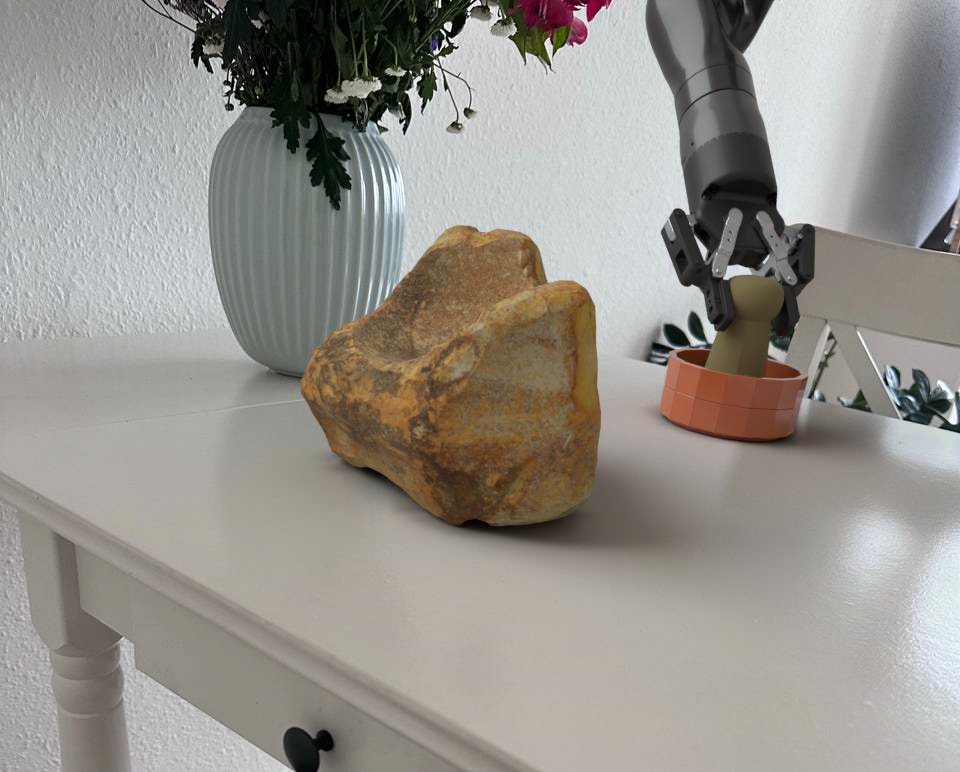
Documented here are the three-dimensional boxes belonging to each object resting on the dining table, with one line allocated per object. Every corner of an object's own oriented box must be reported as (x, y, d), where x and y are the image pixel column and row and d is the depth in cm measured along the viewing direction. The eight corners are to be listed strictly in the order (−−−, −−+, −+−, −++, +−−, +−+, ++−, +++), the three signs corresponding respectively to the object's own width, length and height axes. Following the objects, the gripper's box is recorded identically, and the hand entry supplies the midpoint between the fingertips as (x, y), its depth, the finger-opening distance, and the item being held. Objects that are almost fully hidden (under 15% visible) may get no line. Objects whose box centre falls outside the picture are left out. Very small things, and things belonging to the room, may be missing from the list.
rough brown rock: (298, 433, 71) (285, 214, 64) (515, 426, 75) (527, 218, 67) (319, 569, 52) (304, 277, 44) (612, 552, 55) (644, 278, 48)
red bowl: (751, 411, 92) (765, 353, 90) (816, 448, 82) (834, 383, 80) (637, 404, 89) (649, 344, 87) (690, 442, 79) (705, 374, 77)
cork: (705, 394, 89) (733, 268, 84) (769, 409, 86) (801, 280, 81) (682, 404, 84) (710, 271, 79) (750, 420, 82) (783, 284, 77)
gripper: (669, 118, 80) (698, 293, 75) (821, 139, 83) (858, 308, 79) (634, 184, 87) (658, 348, 82) (775, 201, 90) (807, 359, 86)
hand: (756, 328), depth 80 cm, fingers closed on cork, 5 cm apart
